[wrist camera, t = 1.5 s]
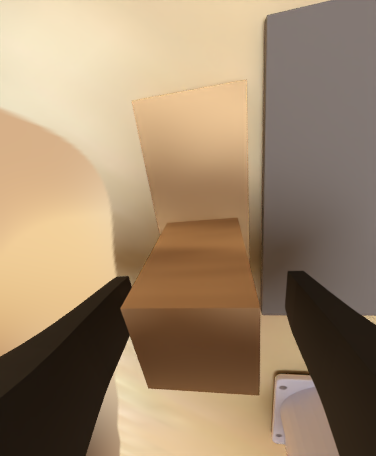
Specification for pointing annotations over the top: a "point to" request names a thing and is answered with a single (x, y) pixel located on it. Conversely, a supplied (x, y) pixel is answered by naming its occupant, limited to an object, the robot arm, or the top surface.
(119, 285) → the robot arm
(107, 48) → the top surface
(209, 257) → the brown l-shaped block
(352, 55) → the mat
